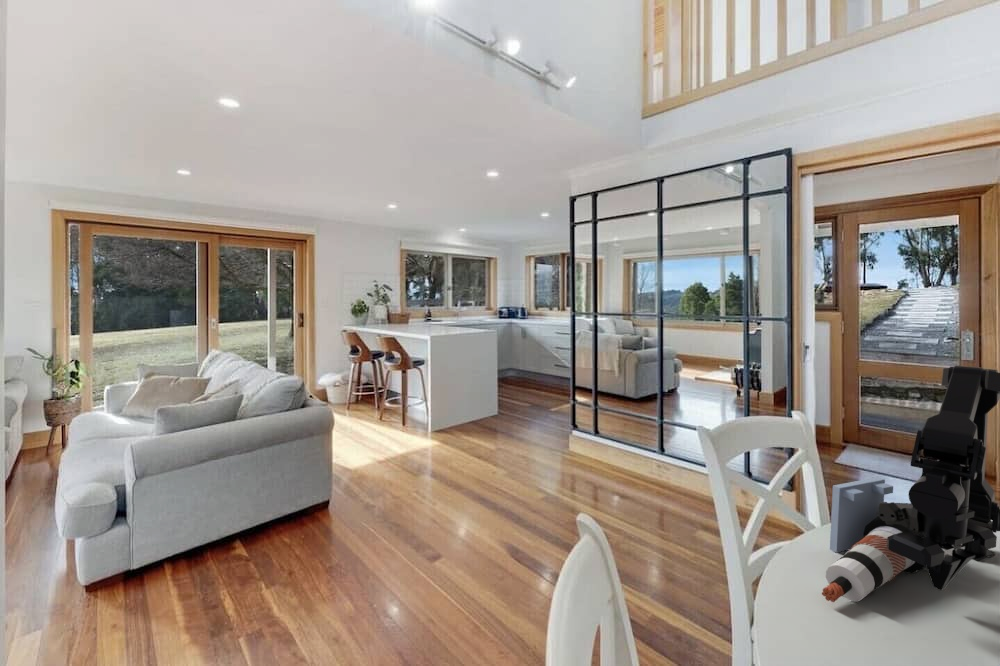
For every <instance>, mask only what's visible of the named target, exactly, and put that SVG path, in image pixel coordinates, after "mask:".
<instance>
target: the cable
mask: <svg viewBox="0 0 1000 666" xmlns="http://www.w3.org/2000/svg"><path fill="white" fill-rule="evenodd" d="M905 531H908V532H910V533H912V534H915V535H917V536H923V535H922V533H921V532H915V531H913V530H910V525H900V524H893V525H888V524H886V522H885V521H883V520H881V519H880V517H879V516H878V517H877V518H875V519H874V520H872V521H871V522H870V523H869V524H867V525H866V526H865V529H864V533H863V535H864V538H863V539H862V540H860V541H859V542H858V543H856V544H855V545H853V546H852V548H851V549H850V550H847V551H846V552H845V554H843V556H841V557H840V558H839V559H837V560H836V562H834V563H832V564H831V565H830V566H828V568H827V569H826V571H825V578H826V581H827V583H828V585H827V586H825V587H824V588H822V592H821V595H822V596H823V597H824V599H825V600H826V601H829V602H831V603H834V602H836V601H837V600H838V599H839V598H841V597H842V598H844V599H846V600H847V601H850V600H851V601H850V602H859V601H861V600H863V599H864V598H865V597H867V596H868V595H869V594H871V593H873V592H874V591H876V590H877V589H878V588H881V587H882V586H883V585H885V584H886V582H887V583H889V582H890V581H893V579H894V578H896V576H898V574H900V573H901V572H902V573H908V574H913V573H917V572H919V571H922V570H923V569H924V568H925V567H926V566H923V565H921V564H919V563H917V562H915V561H912V560H910V559H908V558H906V557H904V556H901V555H899V554H897V553H895V552H893V551H890V550H888V548H887V537H889V536H891V535H894V534H898V533H901V532H905Z"/></svg>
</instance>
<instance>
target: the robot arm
mask: <svg viewBox="0 0 1000 666" xmlns="http://www.w3.org/2000/svg"><path fill="white" fill-rule="evenodd" d="M940 386H941V387H942V388H944V389H945V388H946V390H945V393H944V397H943V399H942V403H941V404H940V409H939V412H938V413H937V414H935V415H933V416H929V417H927V418H926V421H925V423H924V424H923V427H922V429H918V430H917V432H916V436H915V441H914V446H913V449H912V450H913V451H912V455H911V459H910V467H914V468H918V469H921V475H920V477H919V479H917V481H915V482H914V484H913V485H912V486H911V487H910V488H909V490H908V500H909V502H910V503H909V502H895V501H893V502H887V501H884V502H882V503H879V507H878V512H877V515H878V516H879V517H880V519H881V520H883V521H885V522H886V524H888V525H893V524H900V525H910V530H913V531H915V532H921V533H922V535H923V536H917V535H915V534H912V533H910V532H908V531H905V532H901V533H898V534H894V535H891V536H889V537H887V548H888V550H890V551H893V552H895V553H897V554H899V555H901V556H904V557H906V558H908V559H910V560H912V561H915V562H917V563H919V564H921V565H923V566H925V567H926V568H927V572H928V574H929V578H930V580H931V582H932V586H933V588H935V589H937V590H940V591H942V590H944V589H946V588H947V586H948V585H949V584H950V583H951V582H952V581H953V580H954V578H955V577H957V575H958V574H959V573H960V572H961V570H963V569H964V567H965V566H967V564H968V563H969V562H970V561H971V560H972V559H973V560H976V561H980V560H983V559H986V558H989V557H993V556H996V552H995V551H993V550H990V549H995V548H996V547H997V539H998V538H997V535H996V533H997V532H1000V503H999V502H996V501H995V498H996V497H995V494H996V493H995V489H994V488H993V487H992V486H991V485H990V483H989V482H988V480H987V479H986V478H985V474H986V472H985V471H986V455H987V434H988V418H989V417H988V416H989V415H988V414H989V412H990V411H992V409H994V407H996V406H997V404H998V402H999V401H1000V372H999V370H998V369H994V368H993V369H992V368H983V367H982V366H981V367H979V366H967V365H965V366H964V365H953V366H949V367H946V368H942V377H941V385H940ZM921 455H922V457H921Z"/></svg>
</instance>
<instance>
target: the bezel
mask: <svg viewBox="0 0 1000 666" xmlns="http://www.w3.org/2000/svg"><path fill="white" fill-rule="evenodd" d="M889 494H890V495H891V494H894V486H893V485H890V484H888V483H886V480H885V478H882V477H879V476H876V477H871V478H865V479H860V480H855V481H851V482H846V483H845V482H843V483H839V484H834V485H832V496H831V497H832V498H831V499H832V500H831V514H830V515H831V517H830V540H829V550H830V551H832V552H834V553H840V552H841V551H842V552H845V551H844V550H846V551H849V550H848V549H850V550H851V548H852V546H853V545H855V544H856V543H858V542H859V541H860V540H862V539H863V538H864V535H863V533H864V529H865V526H866V525H867V524H869V523H870V522H871V521H872V520H874V519H875V518H877V517H878V515H877V512H878V507H879V503H882V502H885V501H884V500H885V496H886V495H889Z"/></svg>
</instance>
